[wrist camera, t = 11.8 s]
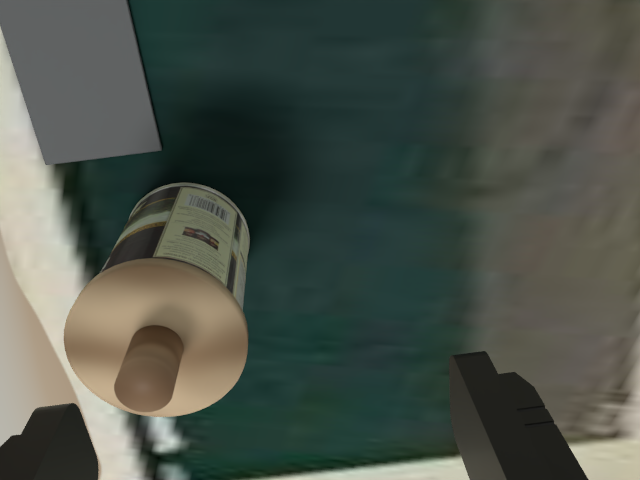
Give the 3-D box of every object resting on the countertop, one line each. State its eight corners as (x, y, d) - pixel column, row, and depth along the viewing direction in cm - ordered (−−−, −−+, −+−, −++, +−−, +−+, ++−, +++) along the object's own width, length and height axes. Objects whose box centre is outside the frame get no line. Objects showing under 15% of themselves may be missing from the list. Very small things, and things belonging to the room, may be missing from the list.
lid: (46, 272, 36) (10, 320, 31) (230, 246, 36) (223, 290, 31) (98, 414, 40) (75, 475, 36) (261, 392, 40) (259, 449, 36)
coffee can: (131, 291, 52) (84, 399, 40) (121, 179, 48) (65, 261, 35) (250, 293, 53) (242, 400, 41) (251, 183, 49) (242, 265, 36)
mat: (-16, -33, 41) (-19, -32, 41) (116, -49, 41) (114, -49, 41) (47, 163, 47) (45, 165, 47) (162, 148, 47) (161, 150, 47)
